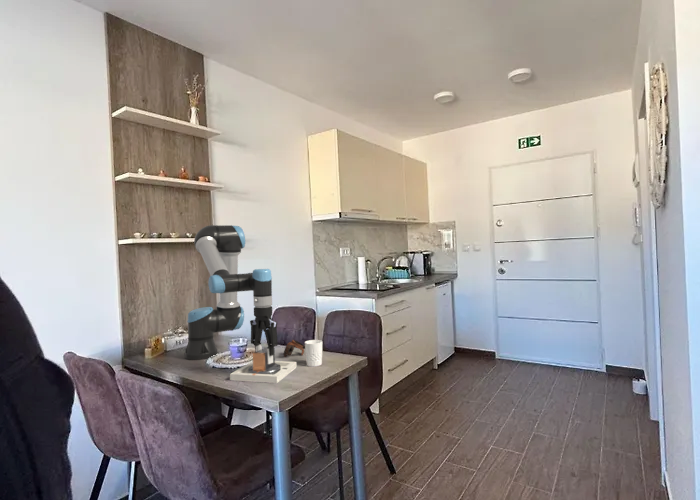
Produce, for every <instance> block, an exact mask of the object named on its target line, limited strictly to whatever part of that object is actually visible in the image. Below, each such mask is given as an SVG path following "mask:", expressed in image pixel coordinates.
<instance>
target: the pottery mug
mask: <svg viewBox="0 0 700 500" xmlns="http://www.w3.org/2000/svg"><path fill="white" fill-rule="evenodd" d="M295 348H297V349H299V350H300V351H301V353H300V355H301V356H304V353H305V344H303V343H301V342H299V341H298V340H295V339H291V341H290V342H288V343H287V344H286V345H285V347H284V350H283V356H284V357H285V358H287V356H288V357H289V356H292V353H293V351H294V350H295Z"/></svg>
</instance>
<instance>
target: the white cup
mask: <svg viewBox="0 0 700 500" xmlns="http://www.w3.org/2000/svg"><path fill="white" fill-rule="evenodd" d="M304 346H305V348H304V353H305V360H306V366H308V367H319V366H321V365H322V364H323V340H321V339H320V340H319V339H310V340H306V341H304Z"/></svg>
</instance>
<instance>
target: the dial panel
mask: <svg viewBox="0 0 700 500" xmlns="http://www.w3.org/2000/svg"><path fill="white" fill-rule="evenodd" d="M275 363H276V364H279V365H280V366H281V370H280V371H279V372H277V373H276V374H273V375H271V374H256V373H254V374H251V373H248V369H249V367H251V366H253V360H252V361H250V362H249V363H247V364H245V365H243V366H241V367H239V368H238V369H236V370H235V371H233V372H232V373H229V381H233V382H234V381H235V382H250V383H251V382H252V383H253V382H255V383H268V384H269V383H270V384H278V383H279V382H281V381H282V380H283V379H284V378H286V377H288V375H289V374H291V373H292V372H293V371H294V370H295V369H297V361H281V360H275Z"/></svg>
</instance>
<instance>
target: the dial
mask: <svg viewBox="0 0 700 500" xmlns="http://www.w3.org/2000/svg"><path fill="white" fill-rule="evenodd" d="M267 347H268V346H267ZM267 347H262V349H261V350H259V351H257V352H255V351H254V352H253V353H252V361H253V366H251V367H249V369H248V373H251V374H254V373H256V374H271V375H273V374H276V373H277V372H279V371H280V370H281V366H280V365H279V364H276V363H275V361H276V354H275V351H276V350H275V349H276V348H275V347H274V355H273V363H271V364H267Z"/></svg>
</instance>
